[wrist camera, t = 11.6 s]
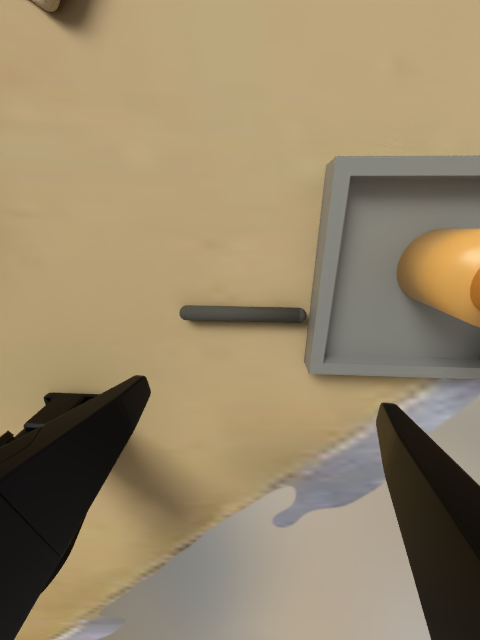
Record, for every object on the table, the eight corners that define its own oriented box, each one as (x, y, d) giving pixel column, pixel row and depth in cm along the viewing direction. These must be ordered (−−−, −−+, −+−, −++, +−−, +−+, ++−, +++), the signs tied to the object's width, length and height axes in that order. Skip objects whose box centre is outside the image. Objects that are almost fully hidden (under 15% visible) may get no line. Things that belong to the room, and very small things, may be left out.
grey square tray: (480, 366, 21) (502, 380, 19) (304, 361, 22) (309, 373, 20) (563, 163, 16) (605, 155, 14) (326, 164, 16) (336, 156, 14)
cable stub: (303, 319, 20) (307, 325, 19) (182, 317, 21) (178, 322, 20) (305, 306, 20) (308, 310, 19) (181, 303, 20) (177, 308, 19)
